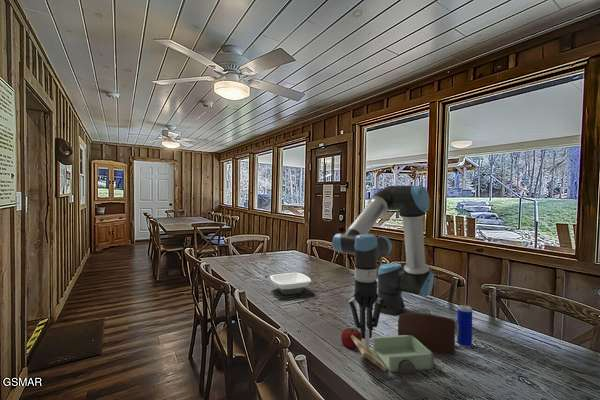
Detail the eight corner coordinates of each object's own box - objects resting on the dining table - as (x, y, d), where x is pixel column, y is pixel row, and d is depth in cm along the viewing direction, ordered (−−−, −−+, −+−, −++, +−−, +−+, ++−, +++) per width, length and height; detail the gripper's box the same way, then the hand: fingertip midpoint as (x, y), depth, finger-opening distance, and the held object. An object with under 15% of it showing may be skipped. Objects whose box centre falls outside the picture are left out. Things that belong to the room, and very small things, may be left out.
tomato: (362, 343, 120) (362, 325, 119) (360, 353, 112) (360, 334, 112) (342, 340, 122) (342, 322, 122) (339, 350, 114) (339, 331, 114)
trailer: (371, 350, 114) (371, 334, 114) (408, 347, 116) (409, 332, 116) (393, 379, 96) (393, 360, 96) (436, 375, 98) (436, 357, 98)
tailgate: (372, 353, 111) (350, 337, 110) (374, 350, 111) (352, 334, 110) (387, 373, 99) (362, 355, 97) (389, 370, 99) (364, 352, 97)
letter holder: (455, 356, 110) (455, 318, 110) (398, 348, 116) (398, 312, 116) (449, 343, 120) (450, 308, 120) (397, 336, 126) (398, 303, 125)
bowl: (314, 295, 176) (314, 281, 175) (277, 300, 167) (277, 285, 167) (300, 284, 196) (300, 271, 196) (266, 288, 188) (266, 275, 187)
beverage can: (458, 340, 122) (459, 303, 122) (472, 344, 119) (473, 306, 119) (455, 344, 118) (456, 307, 118) (470, 349, 115) (471, 310, 115)
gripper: (351, 283, 99) (351, 354, 99) (388, 281, 101) (388, 350, 101) (344, 277, 106) (344, 343, 107) (378, 275, 108) (379, 340, 109)
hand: (366, 346), depth 104 cm, fingers closed
